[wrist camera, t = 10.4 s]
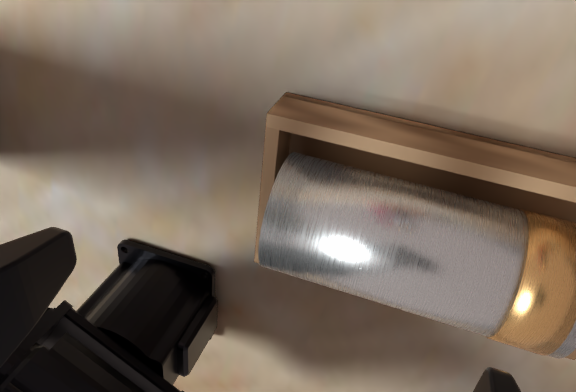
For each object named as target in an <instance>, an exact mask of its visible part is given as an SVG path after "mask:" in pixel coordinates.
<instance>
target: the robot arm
mask: <svg viewBox="0 0 576 392" xmlns="http://www.w3.org/2000/svg"><path fill="white" fill-rule="evenodd" d="M117 248H118V256H119V263H120V265H119V266H118V267H117V268H116V269H115V270H114V271H113V272H112V273H111V274H110V275H109V277H108V278H107V279H106V280H105V281H104V282H103V283H102V284H101V285H100V286H99V287H98V288H97V289H96V291H95V292H94V293H93V294H92V295H91V296H90V297H89V298H88V299H87V300H86V301H85V302H84V303H83V304H82V306H81V307H80V308H79V309H78V310H77V311H75V310H74V309H73V308H72V307H73V306H72V305H71V304H69V303H68V302H67V301H65V300H64V301H63V302H62V303H61V304H60V305H59V306H58V307H57V308H54V309H53V308H48V306H49V305H50V303H51V302H52V301H53V299H54V298H55V296H56V295H57V293H58V292H59V290H60V289H61V287H62V286H63V284H64V283H65V281H66V280H67V278H68V277H69V275H70V274H71V273H72V271H73V269H74V267H75V265H76V253H75V248H74V243H73V238H72V235H71V234H70V232H68V231H66V230H62V229H59V228H56V227H50V228H47V229H44V230H41V231H38V232H35V233H33V234H30V235H27V236H24V237H21V238H18V239H15V240H13V241H10V242H7V243H4V244H1V245H0V392H184V391H180V390H178V389H177V388H176V387H174V386H173V384H174V382H175V381H176V379H177V377H178V376H179V375H181V376H184V377H185V376H187V375H189V374H190V372H191V370H192V368H193V367H194V365H195V363H196V362H197V360H198V358H199V356H200V355H201V353H202V351H203V349H204V348H205V346H206V344H207V343H208V341H209V340H210V339H211V338H212V336H213V334H214V331H215V329H216V327H217V305H218V301H217V299H216V297H215V271H214V269H213V268H212V267H210V266H208V265H205V264H202V263H199V262H196V261H193V260H189V259H186V258H183V257H180V256H177V255H174V254H170V253H167V252H164V251H161V250H158V249H154V248H151V247H148V246H145V245H142V244H139V243H135V242H132V241H129V240H122V241H121V242H120V243H119V245H118V247H117ZM206 273H207V274H206ZM473 392H521V391H520V389H519V387H518V385H517V383H516V382H515V380H514V378H513V377H512V375H510V374H509V373H507V372H504V371H501V370H498V369H495V368H491V367H489V368H487V369H486V370H485V371H484V373H483V375H482V376H481V378H480V380H479V382H478V384H477V385H476V387H475V389H474V391H473Z"/></svg>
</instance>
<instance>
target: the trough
mask: <svg viewBox="0 0 576 392" xmlns="http://www.w3.org/2000/svg"><path fill="white" fill-rule="evenodd" d="M293 152H296V153H300V154H304V155H308V156H311V157H315V158H319V159H323V160H327V161H331V162H335V163H339V164H343V165H347V166H351V167H354V168H358V169H362V170H366V171H370V172H374V173H378V174H382V175H386V176H390V177H393V178H397V179H401V180H405V181H409V182H413V183H417V184H421V185H425V186H429V187H433V188H436V189H440V190H444V191H448V192H452V193H456V194H460V195H464V196H468V197H472V198H475V199H479V200H483V201H487V202H491V203H495V204H499V205H503V206H507V207H511V208H515V209H518V210H519V209H524V210H527V211H531V212H535V213H539V214H543V215H547V216H551V217H555V218H559V219H563V220H567V221H570V222H574V223H576V158H572V157H568V156H564V155H559V154H555V153H550V152H546V151H542V150H537V149H533V148H529V147H524V146H520V145H515V144H511V143H507V142H502V141H498V140H493V139H489V138H485V137H480V136H476V135H471V134H467V133H463V132H458V131H454V130H450V129H445V128H441V127H436V126H432V125H428V124H423V123H419V122H414V121H410V120H406V119H401V118H397V117H392V116H388V115H384V114H379V113H375V112H371V111H366V110H362V109H357V108H353V107H349V106H344V105H340V104H335V103H331V102H327V101H322V100H318V99H313V98H309V97H305V96H300V95H296V94H292V93H287V92H286V93H285V94H284V95H283V96H282V97H281V98H280V99H279V100H278V102H277V103H276V104H275V105H274V106H273V107H272V108H271V109H270V110H269V111H268V113H267V117H266V128H265V140H264V152H263V163H262V175H261V187H260V199H259V210H258V222H257V234H256V245H255V257H254V262H256V263H259V258H258V247H259V238H260V231H261V226H262V221H263V217H264V213H265V209H266V206H267V202H268V199H269V196H270V193H271V190H272V187H273V184H274V182H275V179H276V177H277V175H278V173H279V170H280V168H281V166H282V165H283V163H284V161H285V160H286V158H287V157H288V156H289V155H290V154H291V153H293ZM259 264H260V263H259ZM566 358H569V359H572V360H575V359H576V349H575V350H574V351H573V352H572V353H571V354H569V355H568V356H566Z"/></svg>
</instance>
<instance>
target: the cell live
mask: <svg viewBox="0 0 576 392" xmlns="http://www.w3.org/2000/svg"><path fill="white" fill-rule="evenodd" d="M258 258H259V263H260V265H261V266H262V267H265V268H268V269H272V270H275V271H278V272H281V273H285V274H288V275H291V276H294V277H297V278H301V279H304V280H307V281H310V282H313V283H317V284H320V285H323V286H326V287H329V288H333V289H336V290H339V291H342V292H345V293H349V294H352V295H355V296H358V297H361V298H365V299H368V300H371V301H374V302H378V303H381V304H384V305H387V306H390V307H394V308H397V309H400V310H403V311H406V312H410V313H413V314H416V315H419V316H422V317H426V318H429V319H432V320H435V321H438V322H442V323H445V324H448V325H451V326H454V327H458V328H461V329H464V330H467V331H471V332H474V333H477V334H480V335H483V336H485V337H487V338H489V339H492V340H495V341H498V342H501V343H505V344H508V345H511V346H514V347H517V348H521V349H524V350H527V351H530V352H533V353H537V354H540V355H547V356H551V357H554V358H559V359H560V358H564V357H566V356H568V355H569V354H571V353H572V352H573V351H574V350H575V349H576V223H574V222H570V221H567V220H563V219H559V218H555V217H551V216H547V215H543V214H539V213H535V212H531V211H527V210H524V209H519V210H518V209H515V208H511V207H507V206H503V205H499V204H495V203H491V202H487V201H483V200H479V199H475V198H472V197H468V196H464V195H460V194H456V193H452V192H448V191H444V190H440V189H436V188H433V187H429V186H425V185H421V184H417V183H413V182H409V181H405V180H401V179H397V178H393V177H390V176H386V175H382V174H378V173H374V172H370V171H366V170H362V169H358V168H354V167H351V166H347V165H343V164H339V163H335V162H331V161H327V160H323V159H319V158H315V157H311V156H308V155H304V154H300V153H296V152H293V153H291V154H290V155H289V156H288V157H287V158H286V160H285V161H284V163H283V165H282V166H281V168H280V170H279V173H278V175H277V177H276V179H275V182H274V184H273V187H272V190H271V193H270V196H269V199H268V202H267V206H266V209H265V213H264V217H263V221H262V226H261V231H260V238H259V247H258Z"/></svg>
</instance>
